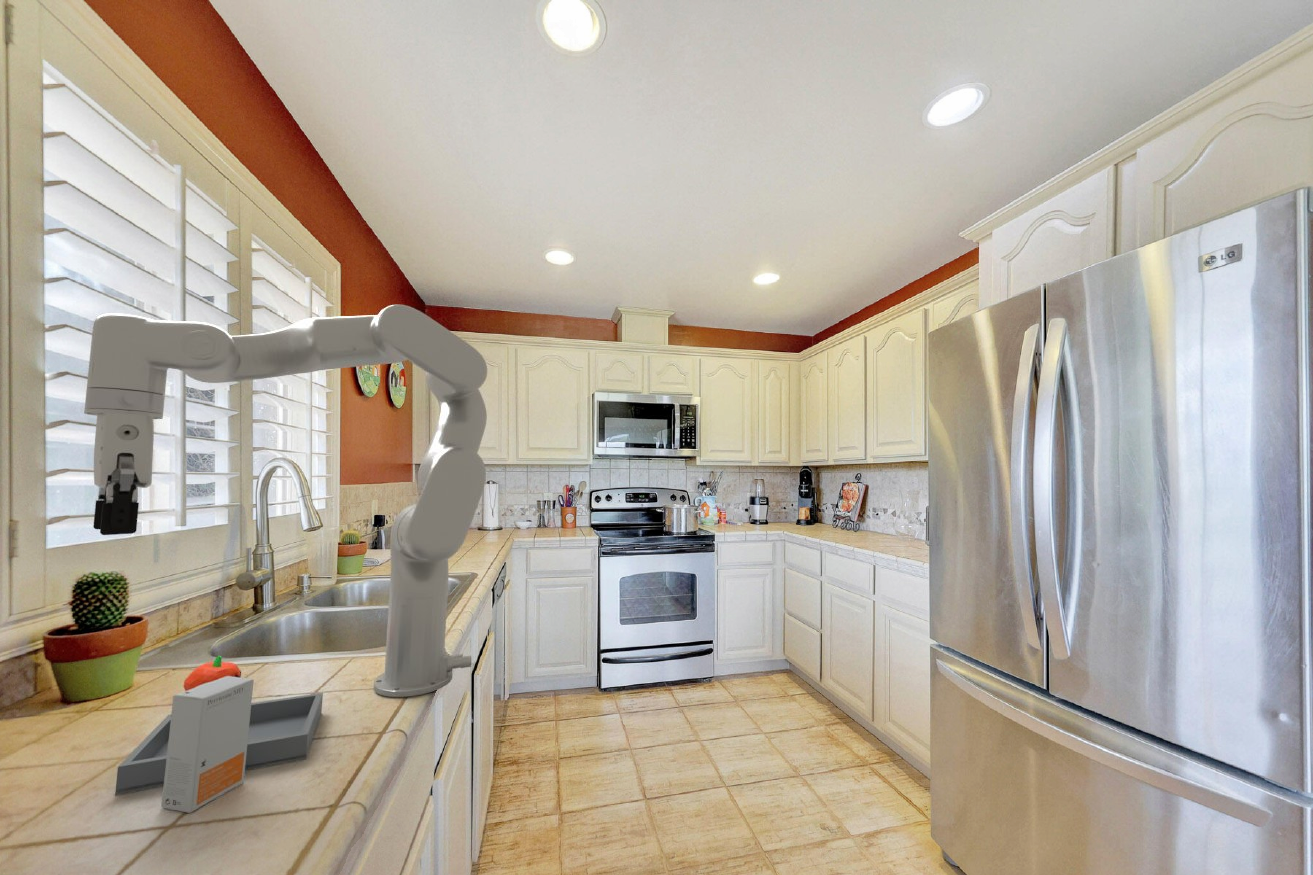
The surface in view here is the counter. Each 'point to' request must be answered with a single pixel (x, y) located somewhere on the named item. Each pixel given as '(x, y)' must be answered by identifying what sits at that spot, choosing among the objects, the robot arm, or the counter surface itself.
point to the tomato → (211, 673)
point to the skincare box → (207, 742)
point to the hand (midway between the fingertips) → (113, 531)
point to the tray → (272, 741)
